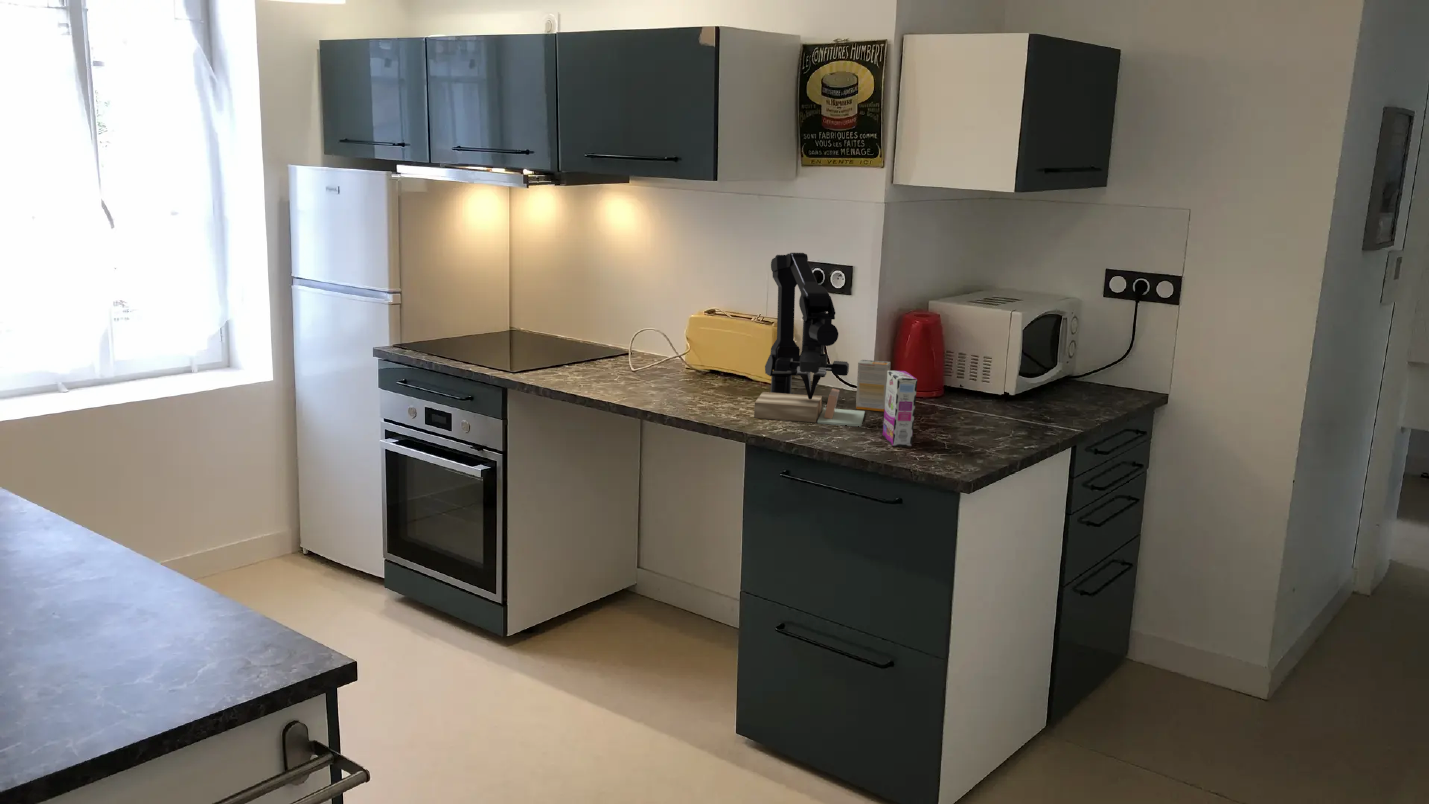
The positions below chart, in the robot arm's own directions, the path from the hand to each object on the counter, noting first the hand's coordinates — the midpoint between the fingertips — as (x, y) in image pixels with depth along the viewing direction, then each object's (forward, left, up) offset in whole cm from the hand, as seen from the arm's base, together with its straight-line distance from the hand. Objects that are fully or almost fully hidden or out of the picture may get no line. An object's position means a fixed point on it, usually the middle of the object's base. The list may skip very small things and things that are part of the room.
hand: (810, 398), depth 290 cm
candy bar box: (+20, +24, -5) cm, 31 cm away
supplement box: (-14, +15, -5) cm, 21 cm away
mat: (0, +8, -4) cm, 10 cm away
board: (0, -6, -4) cm, 7 cm away
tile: (0, +5, -1) cm, 5 cm away
